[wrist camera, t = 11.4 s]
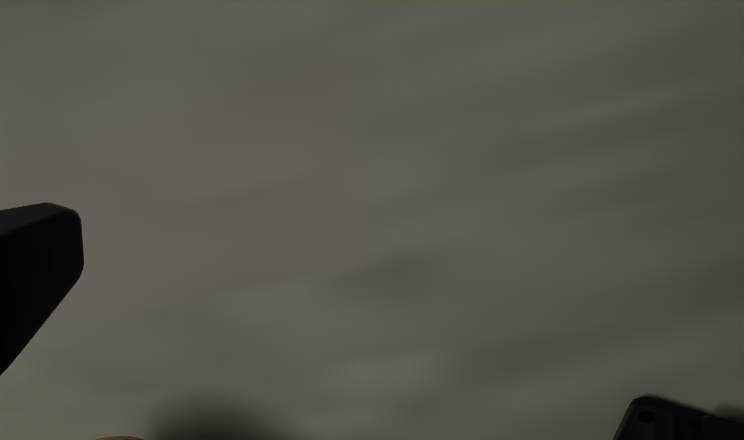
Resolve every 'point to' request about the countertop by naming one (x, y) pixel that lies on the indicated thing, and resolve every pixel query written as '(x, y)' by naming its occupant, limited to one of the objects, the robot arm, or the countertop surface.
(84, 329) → the countertop surface
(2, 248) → the robot arm
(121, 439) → the natural sponge
